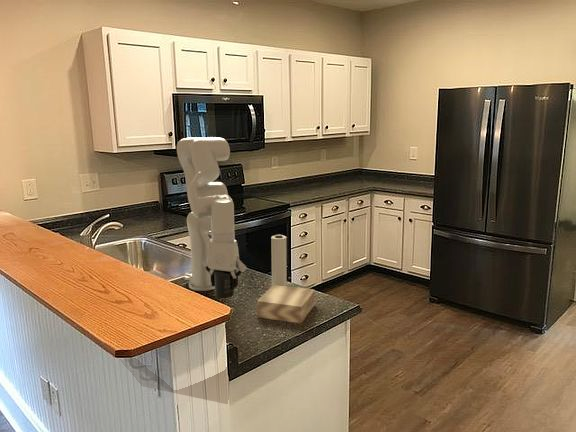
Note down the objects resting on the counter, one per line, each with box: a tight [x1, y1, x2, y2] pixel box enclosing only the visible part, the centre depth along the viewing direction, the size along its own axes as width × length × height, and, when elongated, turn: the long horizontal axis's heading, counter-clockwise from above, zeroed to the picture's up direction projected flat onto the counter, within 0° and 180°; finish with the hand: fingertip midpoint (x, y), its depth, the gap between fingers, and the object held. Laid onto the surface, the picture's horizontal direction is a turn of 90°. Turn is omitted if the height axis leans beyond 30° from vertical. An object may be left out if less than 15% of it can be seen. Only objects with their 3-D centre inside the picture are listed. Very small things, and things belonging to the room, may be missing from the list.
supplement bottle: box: [214, 270, 236, 300], centre depth 158 cm, size 7×7×12 cm
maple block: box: [256, 285, 315, 324], centre depth 165 cm, size 16×16×6 cm
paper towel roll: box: [270, 233, 288, 287], centre depth 186 cm, size 7×6×21 cm
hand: (224, 285), depth 158 cm, fingers closed on supplement bottle, 6 cm apart
